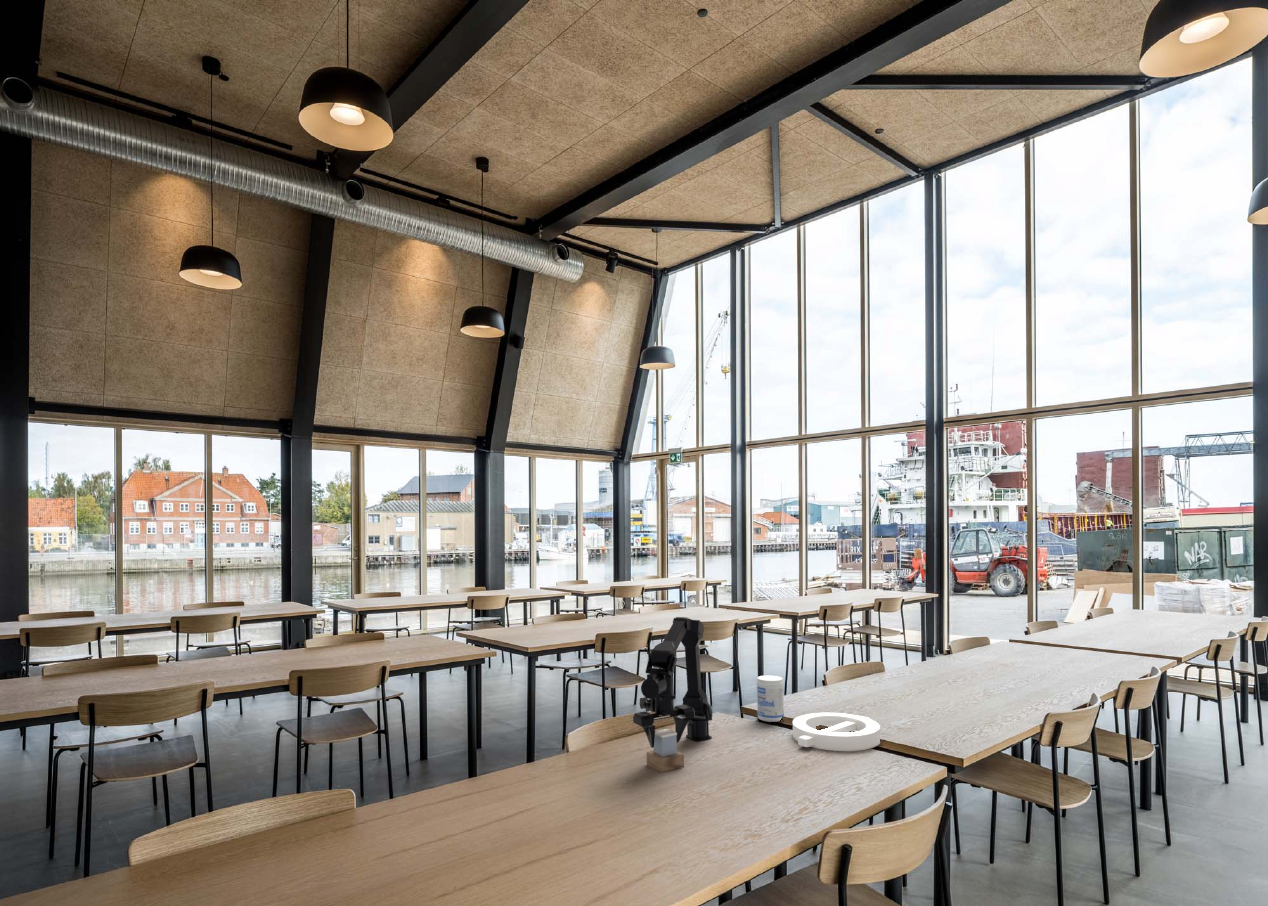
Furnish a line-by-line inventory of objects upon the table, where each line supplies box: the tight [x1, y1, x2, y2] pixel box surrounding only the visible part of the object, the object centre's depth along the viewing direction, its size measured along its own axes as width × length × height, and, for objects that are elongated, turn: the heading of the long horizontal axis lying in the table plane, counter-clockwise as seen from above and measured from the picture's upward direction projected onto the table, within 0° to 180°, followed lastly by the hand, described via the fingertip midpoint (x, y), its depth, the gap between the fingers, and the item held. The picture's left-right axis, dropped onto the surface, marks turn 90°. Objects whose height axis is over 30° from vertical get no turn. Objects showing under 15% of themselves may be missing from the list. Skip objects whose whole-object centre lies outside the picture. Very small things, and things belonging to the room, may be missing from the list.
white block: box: [653, 728, 678, 757], centre depth 212 cm, size 5×5×6 cm
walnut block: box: [646, 749, 685, 773], centre depth 211 cm, size 8×8×4 cm
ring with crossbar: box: [792, 712, 881, 752], centre depth 235 cm, size 28×28×5 cm
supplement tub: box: [756, 674, 785, 723], centre depth 259 cm, size 10×10×15 cm
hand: (664, 744), depth 212 cm, fingers open, 9 cm apart
